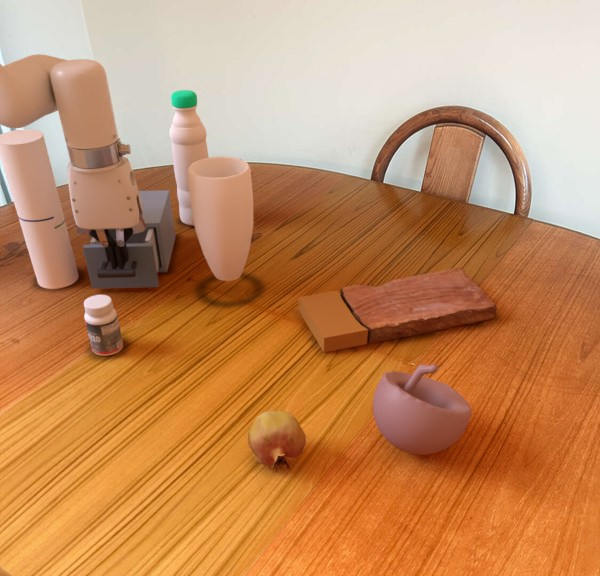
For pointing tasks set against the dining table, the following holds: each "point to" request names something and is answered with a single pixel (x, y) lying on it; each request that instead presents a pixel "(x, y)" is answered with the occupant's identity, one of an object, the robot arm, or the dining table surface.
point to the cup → (222, 213)
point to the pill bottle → (102, 325)
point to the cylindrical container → (38, 207)
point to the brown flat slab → (395, 309)
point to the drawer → (137, 268)
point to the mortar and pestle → (419, 411)
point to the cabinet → (159, 222)
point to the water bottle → (186, 146)
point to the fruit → (276, 439)
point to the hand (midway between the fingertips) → (119, 265)
